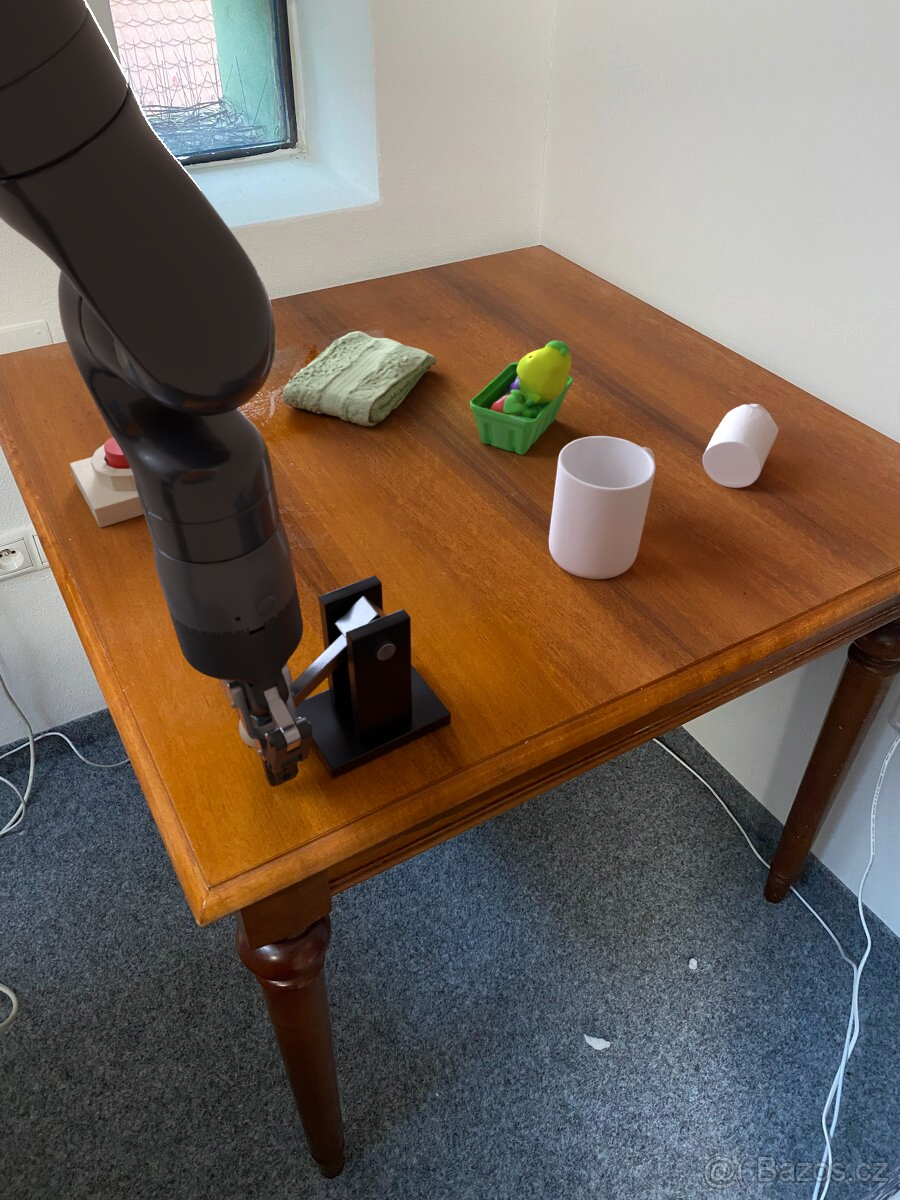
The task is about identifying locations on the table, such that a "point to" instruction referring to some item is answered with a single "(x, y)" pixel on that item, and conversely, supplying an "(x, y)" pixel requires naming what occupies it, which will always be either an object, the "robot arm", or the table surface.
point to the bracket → (369, 687)
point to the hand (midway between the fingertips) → (272, 758)
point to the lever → (327, 656)
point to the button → (115, 455)
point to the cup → (600, 505)
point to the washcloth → (358, 378)
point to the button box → (107, 489)
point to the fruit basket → (523, 398)
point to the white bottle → (740, 446)
